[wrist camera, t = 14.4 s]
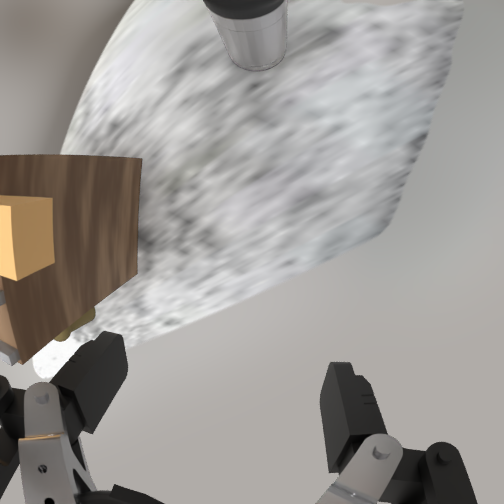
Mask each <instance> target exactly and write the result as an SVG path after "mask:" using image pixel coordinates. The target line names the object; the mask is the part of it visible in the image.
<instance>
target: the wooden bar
mask: <svg viewBox="0 0 504 504" xmlns="http://www.w3.org/2000/svg"><path fill="white" fill-rule="evenodd" d="M53 263H55V258H54V242H53V198H45V197H27V196H4V195H0V275H1V276H4V277H7V278H10V279H12V280H15V281H18V280H20V279H22V278H24V277H26V276H28V275H30V274H32V273H34V272H36V271H38V270H40V269H42V268H45V267H47V266H49V265H51V264H53Z"/></svg>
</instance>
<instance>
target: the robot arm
mask: <svg viewBox="0 0 504 504" xmlns="http://www.w3.org/2000/svg"><path fill="white" fill-rule="evenodd" d="M203 1H204V3H205V5H206V7H207V9H208V11H209V13H210V15H211V17H212V19H213V21H214V23H215V25H216V27H217V29H218V31H219V34H220V36H221V38H222V40H223V42H224V44H225V47H226V49H227V51H228V53H229V56H230V57H231V59H232V61H233V62H234V63H235V64H236V65H238V66H239V67H241V68H244V69H246V70H251V71H261V70H266V69H269V68H272V67H273V66H275V65H277V64H278V63H279V62H280V61H281V60H282V58H283V57H284V55H285V52H286V39H287V4H288V1H287V0H203ZM127 372H128V363H127V357H126V352H125V346H124V340H123V337H122V335H120V334H116V333H112V332H107V331H103V332H102V333H101V334H100V335H99V336H98V337H97V338H96V339H95V340H94V341H93V340H90V341H89V342H87V343H85V344H83V345H81V346H80V348H79V349H78V350H77V351H76V352H75V353H74V355H72V357H71V358H70V359H69V361H67V362H66V363H65V364H64V366H63V367H62V368H61V369H60V370H59V371H58V373H57V374H56V375H55V376H54V377H53V378H52V380H51V381H50V382H49V383H48V382H38V383H35V384H33V385H31V386H30V387H29V388H28V389H27V390H23V389H16V388H11V386H10V384H9V382H8V380H7V379H6V377H4V376H1V375H0V425H1V428H0V499H1V497H2V495H3V493H4V491H5V489H6V488H7V486H8V484H9V482H10V480H11V478H12V476H13V474H14V473H15V471H16V469H17V467H18V466H19V464H20V469H21V478H22V485H23V490H24V497H25V502H26V504H164V503H162V502H160V501H158V500H156V499H154V498H152V497H150V496H148V495H146V494H143V493H140V492H137V491H134V490H130V489H127V488H124V487H121V486H118V485H116V484H114V486H113V489H112V491H97V489H96V486H95V484H94V483H93V481H92V478H91V476H90V472H89V469H88V466H87V462H86V459H85V455H84V451H83V448H82V444H81V439H80V437H79V435H80V433H81V431H85V432H88V433H90V434H93V433H94V431H95V429H96V427H97V425H98V424H99V422H100V420H101V419H102V417H103V415H104V414H105V412H106V410H107V409H108V407H109V405H110V404H111V402H112V400H113V398H114V397H115V395H116V393H117V392H118V390H119V389H120V387H121V385H122V383H123V382H124V380H125V379H126V376H127ZM320 410H321V416H322V423H323V431H324V438H325V446H326V454H327V462H328V469H329V473H339V477H338V478H337V479H336V481H335V482H334V483H333V484H332V485H331V486H330V487H329V488H328V489H327V491H326V492H325V493H324V494H323V495H322V496H321V498H320V499H319V500H318V501H317V503H315V504H377V502H378V501H379V502H388V503H391V504H477V500H476V498H475V494H474V491H473V488H472V486H471V482H470V479H469V477H468V474H467V471H466V468H465V466H464V463H463V460H462V458H461V455H460V453H459V451H458V450H457V449H456V447H454V446H453V445H451V444H449V443H446V442H437V443H434V444H432V445H431V446H430V447H429V448H428V449H427V450H426V451H420V450H412V449H406V448H403V447H402V446H401V444H400V443H399V441H398V440H396V439H395V438H394V437H392V436H390V435H388V433H387V431H386V428H385V425H384V422H383V419H382V416H381V413H380V410H379V407H378V404H377V401H376V398H375V396H374V393H373V390H372V387H371V384H370V383H369V382H368V381H367V380H366V379H365V378H364V377H363V376H362V375H361V376H360V375H355V374H354V371H353V368H352V365H351V363H350V362H331V363H330V364H329V367H328V370H327V373H326V377H325V380H324V383H323V386H322V390H321V394H320Z"/></svg>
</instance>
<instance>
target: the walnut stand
mask: <svg viewBox="0 0 504 504" xmlns="http://www.w3.org/2000/svg"><path fill="white" fill-rule="evenodd" d="M141 167H142V159H140V158H126V157H110V156H89V155H0V195H4V196H27V197H45V198H53V242H54V258H55V263H53V264H51V265H49V266H47V267H45V268H42V269H40V270H38V271H36V272H34V273H32V274H30V275H28V276H26V277H24V278H22V279H20V280H18V281H15V280H12V279H10V278H7V277H4V276H1V275H0V359H1V360H2V361H4V362H6V363H7V364H9V365H11V366H13V365H14V364H15V363H17V362H18V363H20V364H22V365H23V364H24V363H26V362H27V361H28V360H29V359H30V358H31V357H33V356H34V355H35V354H36V353H37V352H38V351H40V350H41V349H42V348H43V347H44V346H46V345H47V344H48V343H49V342H50V341H52V340H53V339H54V338H55V337H57V336H58V335H59V334H60V333H61V332H63V331H64V330H65V329H66V328H68V327H69V326H70V325H71V324H73V323H74V322H75V321H76V320H78V319H79V318H80V317H81V316H83V315H84V314H85V313H86V312H88V311H89V310H90V309H92V308H93V307H94V306H95V305H97V304H98V303H99V302H101V301H102V300H103V299H105V298H106V297H107V296H108V295H110V294H111V293H112V292H114V291H115V290H116V289H118V288H119V287H120V286H122V285H123V284H124V283H126V282H127V281H128V280H130V279H131V278H132V277H134V276H135V275H136V274H137V241H138V211H139V193H140V179H141Z"/></svg>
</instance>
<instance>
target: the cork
mask: <svg viewBox="0 0 504 504" xmlns="http://www.w3.org/2000/svg"><path fill="white" fill-rule="evenodd" d="M94 317H95V308H94V307H93V308H92V309H90V310H89V311H88V312H86V313H85V314H84V315H83V316H81V317H80V318H79V319H78V320H76V321H75V322H74V323H73V324H71V325H70V326H69V327H68V328H66V329H65V330H64V331H63V332H61V333H60V334H59V335H58V336H57V337H55V338H54V340H56V341H59V342H62V341H65V340H66V339H67V338H68V337H69V336H70V334H71V332H72V331H74V330H76V329H78V328H79V327H81V326H83V325H85V324H87V323H88V322H90V321H92V320H93V319H94Z"/></svg>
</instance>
